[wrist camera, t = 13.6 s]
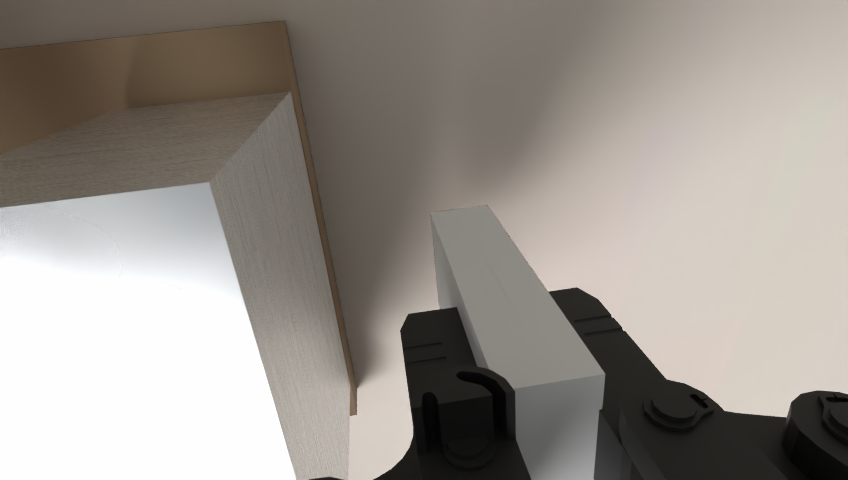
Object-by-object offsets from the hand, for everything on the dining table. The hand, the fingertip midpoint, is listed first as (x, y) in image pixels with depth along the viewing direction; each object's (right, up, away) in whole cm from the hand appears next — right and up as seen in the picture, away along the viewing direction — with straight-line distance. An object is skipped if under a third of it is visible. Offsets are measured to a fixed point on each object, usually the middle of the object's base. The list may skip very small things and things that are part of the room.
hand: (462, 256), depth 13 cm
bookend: (-6, 0, 0) cm, 6 cm away
